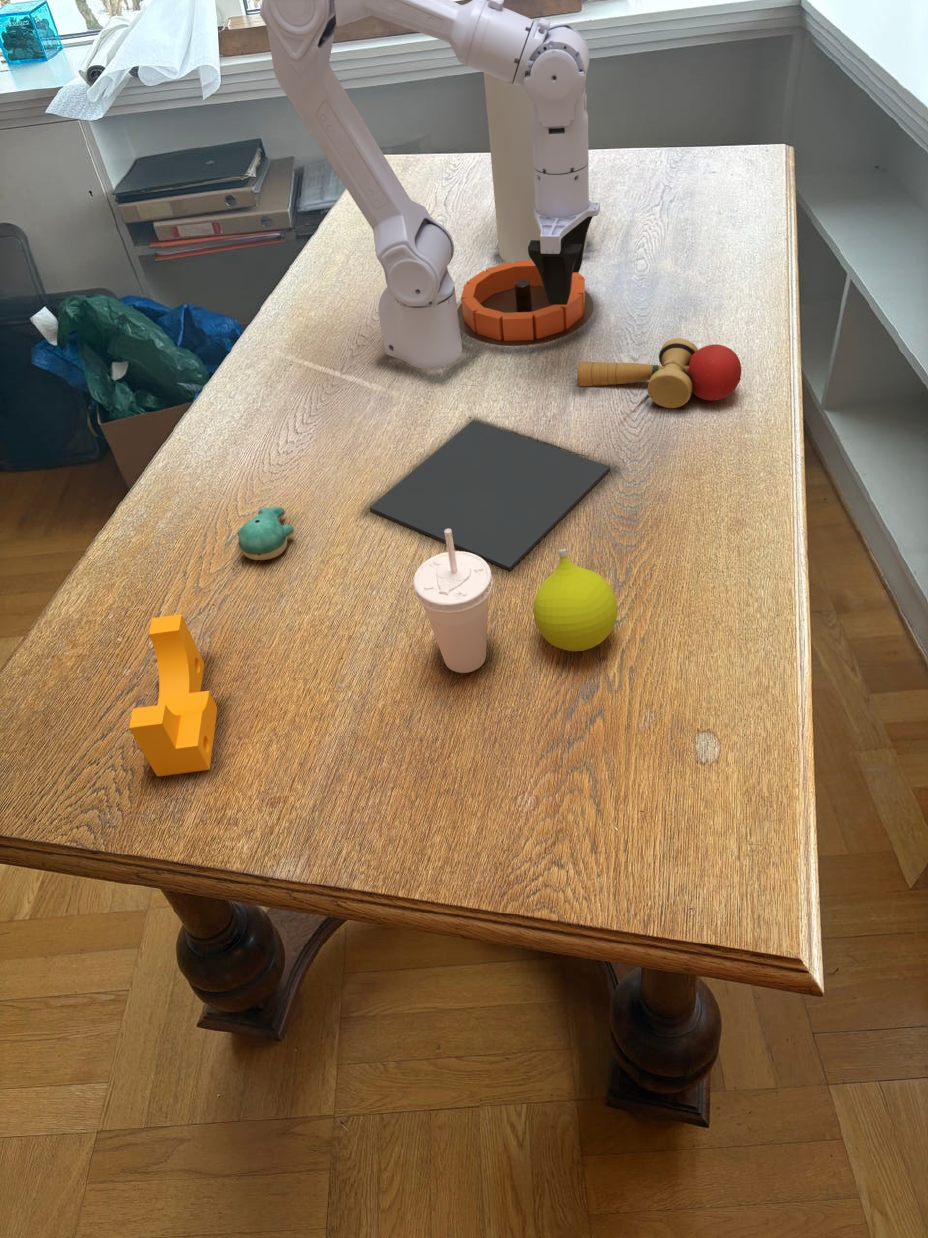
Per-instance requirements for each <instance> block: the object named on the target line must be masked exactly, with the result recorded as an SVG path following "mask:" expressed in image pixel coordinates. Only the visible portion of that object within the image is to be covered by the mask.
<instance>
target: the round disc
mask: <svg viewBox="0 0 928 1238" xmlns="http://www.w3.org/2000/svg"><path fill="white" fill-rule="evenodd" d="M481 305H482V306H483V307H485V308H489V309H492V310H496V311H500V312H504V313H514V312H533V311H536V310H540V309H543V308H546V307H549V306H552V305H555V304H549V302H548V299H547V296H546V292H545V289H544V287H541V286H537V287H531V286H530V281H529V280H525V279H523V280H518V281H516V282H515V288H512V289H509V290H506V291H503V292H499V293H496V294H493V295H492V296H490V297H489V298H488V299H486V300H485V301H484V302H482V303H481ZM594 309H595V305H594V299H593V298H592V296H591V295H590V293H588V291H586V290H585V308H584V315H583V316H582V317H581V318H580V319H579V320H578V321H577V322H575V323H574V324H573V325H572V326H571V327H569V328H568V329H567V330H566V329H564V331H562V332H559V333H556V334H553V335H550V336H546V337H543V338H540V339H537V338H536V337H534V340H521V341H504V338H503V339H502V340H501V341H500V340H497V339H493V338H490V337H486V336H483V335H479V334H477V332H474V331H473V330H472V329H471V328H470V327H469V326H468V324H467V323H466V322H465V321H464V318H463V310H462V302H461V303H460V305H459V306H458V307H457V310H458V319H459V327H460V331H461V332H462V333H464V334H465V335H466V336H468V337H470V338H471V339H474V340H476V341H479V342H482V343H485V344H488V345H495V346H503V347H525V346H534V345H540V344H545V343H549V342H553V341H556V340H558V339H562V338H564V337H566V336H568V335H571V334H572V333H574V332H576V331H578V330H579V329H581V328H582V327H583V326H584V325H585V324H586V323H587V322H588V321H589V320H590V318H591V317H592V316H593V314H594Z"/></svg>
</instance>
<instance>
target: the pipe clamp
mask: <svg viewBox="0 0 928 1238" xmlns="http://www.w3.org/2000/svg"><path fill="white" fill-rule="evenodd" d="M148 636H149V638H150V641H151V643H152V646H153V650H154V653H155V657H156V663H157V670H158V684H159V685H158V699H157V704H156V705H149V706H142V707H135V708H132V711H131V717H130V721H129V726H128V728H129V731H130V732H131V734H132V736H133V737H134V740H135V741H136V743H137V744H138V746H139V748H140V749H141V751H142V753H143V755H144V756H145V758H146V760H147V762H148V763H149V766H150V767H151V769H152V770H153V772H154V773H155V775H156V777H165V776H173V775H180V774H187V773H196V772H202V771H208V770H209V771H210V769H211V764H212V763H211V762H212V755H213V754H212V753H213V748H214V747H213V746H214V739H215V738H214V737H215V730H216V723H217V715H218V707H217V704H216V702H215V700H214V698H213V695H212V694H211V691H210V690H203V691H201V690H202V684H203V677H204V670H205V663H204V660H203V658H202V655H201V653H200V651H199V649H198V646H197V644H196V642H195V640H194V638H193V635H192V634H191V631H190V629H189V627H188V625H187V623H186V620H185V618H184V616H183V614H182V613H180V614H173V615H165V616H158V617H152V618H151V621H150V626H149V630H148Z"/></svg>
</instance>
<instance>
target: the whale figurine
mask: <svg viewBox="0 0 928 1238" xmlns="http://www.w3.org/2000/svg"><path fill="white" fill-rule="evenodd" d="M285 511H286V510H285V509H284V508H283V507H277V506H273V507H262V508H260V509H258V512H257V515H255V516H254V517H252V518H251V519H250V520H248V521H247V522H245V523H244V524H243V525H242V527H240V528H239V529H238V530H237V536H238V544H239V547H240V550H241V552H242V553H243V555H244V556H245V557H247V559H250V560H254V561H265V560H271V559H274V558H276V557H278V556H280V555H282V554H283V552H285V551H286V549H287V546H288V539H289V538H290V537H291V536H292V535H293V534H294V532H295V529H294V527H293V526H292V525H289V524H285V525H283V524H282V523H281V521H280V520H281V519H282V518H283V517H284V515H285V513H286V512H285Z"/></svg>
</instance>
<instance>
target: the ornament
mask: <svg viewBox="0 0 928 1238" xmlns="http://www.w3.org/2000/svg"><path fill="white" fill-rule="evenodd" d="M558 539H559V542H560V545H561V546H563V543H562V540H561V536H558ZM567 552H568V551H567V549H566V548H561V549H559V550H558V555H559V564H558V567H557V568H556V569H555V571H554V572H552V573H551V574H550V575H549V576H548V577H547V578H546V579H545V580H544V581H543V582H542V583H541V584H540V587H539V588H538V590H537V592H536V593H535V597H534V601H533V610H532V612H533V618H534V623H535V625H536V627H537V629H538V631H539V633H540V634H541V635H542V637H544V639H545V640H546V641H547V642H548V643H549V644H550V645H552V646H554V647H556V648H558V649H561V650H564V651H569V652H582V651H587V650H590V649H593V648H594V647H597V646H599V645H600V644H602V642H604V640H607V637H608V636H609V635H610V634H611V632H612V631H613V629H614V627H615V624H616V622H617V618H618V601H617V598H616V595H615V592H614V590H613V588H612V586H611V585H610V584H609V582H608V581H607V580H606V579H605V578H604V577H603V576H601V574H599V573H597V572H595V571H592V570H590V569H588V568H584V567H581V566H578V565H576V564H574V563H573V561H571V560H570V558H569V557H568V553H567Z"/></svg>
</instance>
